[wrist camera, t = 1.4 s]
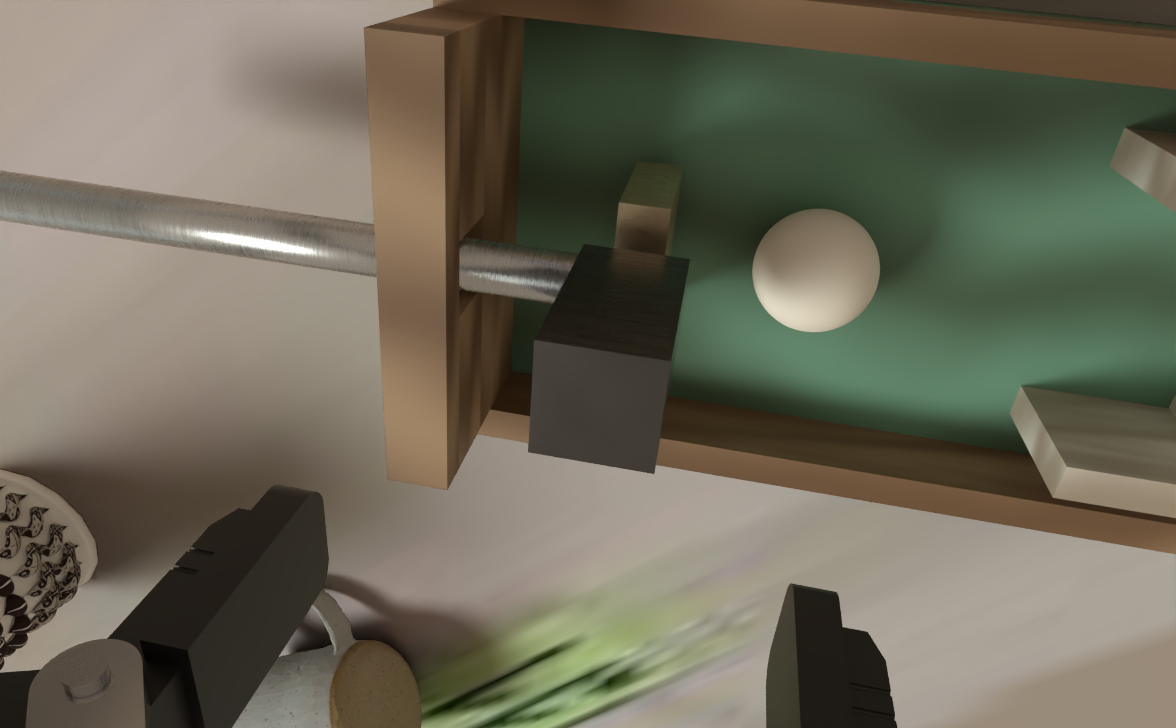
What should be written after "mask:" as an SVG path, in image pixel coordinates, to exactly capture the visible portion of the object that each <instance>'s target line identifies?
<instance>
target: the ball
mask: <svg viewBox="0 0 1176 728" xmlns="http://www.w3.org/2000/svg"><path fill="white" fill-rule="evenodd" d="M879 276H880V262H879V256H878V252H877V249H876V246H875V244H874V242H873V240H872V238H871V237H870V235H869V233H868V232H867V231H866V230H865V229H864V227H862V226H861V225H860V224H859V223H858V222H857V221H855V220H854V219H852V218H851V217H849V216H847V215H845V214H843V213H840V212H837V211H834V210H829V209H808V210H802V211H799V212H796V213H793V214H791V215H789V216H787V217H785V218H783V219H782V220H780V221H779V222H777V223H776V224H775V225H774V226H773V227H772V228H771V229H770V230H769V231H768V232H767V233H766V234H765V236H764V237H763V239H762V240H761V242H760V244H759V245H758V248H757V250H756V253H755V256H754V261H753V268H752V278H753V284H754V288H755V292H756V294H757V297H758V299H759V301H760V302H761V304H762V305H763V307H764V308H765V310H766V311H767V312H768V313H769V314H770V315H771V316H772V317H773V318H775V319H776V320H777V321H779V322H780V323H782V324H783V325H785V326H787V327H789V328H792V329H795V330H799V331H804V332H824V331H829V330H833V329H836V328H839V327H841V326H843V325H845V324H847V323H849V322H851V321H852V320H853V319H855V318H856V317H857V316H858V315H860V314H861V313H862V312H863V310H864V309H865V308H866V307H867V305H868V304H869V303H870V301H871V300H872V298H873V296H874V294H875V291H876V289H877V286H878V281H879Z"/></svg>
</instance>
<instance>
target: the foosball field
mask: <svg viewBox="0 0 1176 728" xmlns="http://www.w3.org/2000/svg"><path fill="white" fill-rule="evenodd" d="M364 38H365V57H366V76H367V95H368V114H369V134H370V153H371V172H372V191H373V210H374V229H375V249H376V268H377V287H378V306H379V325H380V344H381V364H382V383H383V402H384V421H385V440H386V459H387V479H389V480H394V481H400V482H405V483H411V484H417V485H422V486H428V487H433V488H439V489H444V490H448V488H449V486H450V484H451V482H452V480H453V478H454V476H455V475H456V473H457V471H458V469H459V467H460V465H461V463H462V461H463V460H464V458H465V456H466V454H467V452H468V450H469V448H470V446H471V445H472V443H473V441H474V439H475V437H476V435H477V434H479V435H485V436H491V437H497V438H503V439H509V440H514V441H520V442H526V443H529V427H530V408H531V390H532V371H533V353H534V339H535V337H536V335H537V334H538V332H539V330H540V328H541V326H542V324H543V322H544V320H545V318H546V316H547V314H548V312H549V310H550V308H551V307H552V305H553V304H550V303H543V302H537V301H530V300H523V299H517V298H510V297H504V296H497V295H490V294H484V293H477V292H470V291H464V290H459V242H460V240H461V239H462V238H463V237H467V238H474V239H481V240H488V241H495V242H502V243H509V244H516V245H523V246H530V247H537V248H544V249H551V250H558V251H565V252H572V253H579V252H580V250H581V249H582V247H583V245H584V244H588V245H596V246H603V247H610V248H614V245H615V235H616V225H617V215H618V206H619V201H620V199H621V197H622V195H623V192H624V190H625V188H626V186H627V184H628V182H629V180H630V178H631V175H632V173H633V171H634V169H635V167H636V165H637V163H638V161H639V160H640V161H648V162H656V163H664V164H671V165H679V166H683V173H682V180H681V187H680V194H679V201H678V208H677V215H676V223H675V230H674V237H673V244H672V251H671V256H673V257H680V258H687V259H690V264H689V270H688V277H687V283H686V290H685V296H684V303H683V309H682V316H681V322H680V329H679V336H678V342H677V349H676V355H675V360H674V366H673V372H672V377H671V383H670V388H669V394H668V400H667V405H666V411H665V416H664V422H663V428H662V433H661V439H660V444H659V450H658V456H657V461H656V465H660V466H666V467H672V468H677V469H683V470H689V471H695V472H701V473H706V474H712V475H718V476H724V477H730V478H736V479H741V480H747V481H753V482H759V483H765V484H771V485H776V486H782V487H788V488H794V489H800V490H805V491H811V492H817V493H823V494H829V495H835V496H840V497H846V498H852V499H858V500H864V501H869V502H875V503H881V504H887V505H893V506H899V507H904V508H910V509H916V510H922V511H928V512H934V513H939V514H945V515H951V516H957V517H963V518H968V519H974V520H980V521H986V522H992V523H998V524H1003V525H1009V526H1015V527H1021V528H1027V529H1033V530H1038V531H1044V532H1050V533H1056V534H1062V535H1067V536H1073V537H1079V538H1085V539H1091V540H1097V541H1102V542H1108V543H1114V544H1120V545H1126V546H1131V547H1137V548H1143V549H1149V550H1155V551H1161V552H1166V553H1172V554H1176V26H1169V25H1159V24H1149V23H1140V22H1130V21H1120V20H1110V19H1100V18H1091V17H1081V16H1071V15H1061V14H1051V13H1042V12H1032V11H1022V10H1012V9H1002V8H993V7H983V6H973V5H963V4H953V3H944V2H934V1H924V0H433V8H430V9H426V10H423V11H419V12H416V13H413V14H409V15H406V16H402V17H399V18H395V19H392V20H388V21H385V22H381V23H378V24H374V25H371V26H367V27H364ZM808 209H829V210H834V211H837V212H840V213H843V214H845V215H847V216H849V217H851V218H852V219H854V220H855V221H857V222H858V223H859V224H860V225H861V226H862V227H864V229H865V230H866V231H867V232H868V233H869V235H870V237H871V238H872V240H873V242H874V244H875V246H876V249H877V252H878V256H879V262H880V276H879V281H878V286H877V289H876V291H875V294H874V296H873V298H872V300H871V301H870V303H869V304H868V305H867V307H866V308H865V309H864V310H863V312H862V313H861V314H860V315H858V316H857V317H856V318H855V319H853V320H852V321H851V322H849V323H847V324H845V325H843V326H841V327H839V328H836V329H833V330H829V331H824V332H804V331H799V330H795V329H792V328H789V327H787V326H785V325H783V324H782V323H780V322H779V321H777V320H776V319H775V318H773V317H772V316H771V315H770V314H769V313H768V312H767V311H766V310H765V308H764V307H763V305H762V304H761V302H760V301H759V299H758V297H757V294H756V292H755V288H754V284H753V278H752V268H753V261H754V256H755V253H756V250H757V248H758V245H759V244H760V242H761V240H762V239H763V237H764V236H765V234H766V233H767V232H768V231H769V230H770V229H771V228H772V227H773V226H774V225H775V224H776V223H777V222H779V221H780V220H782V219H783V218H785V217H787V216H789V215H791V214H793V213H796V212H799V211H802V210H808Z"/></svg>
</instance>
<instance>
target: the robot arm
mask: <svg viewBox="0 0 1176 728" xmlns="http://www.w3.org/2000/svg"><path fill="white" fill-rule="evenodd" d="M328 562H329V558H328V547H327V536H326V526H325V516H324V506H323V499H322V496H321V495H320V494H319V493H318V492H313V491H308V490H303V489H298V488H292V487H287V486H282V485H275V486H273V487H271V488H270V489H269V490H268V491H267V492H266V494H265V495H264V496H263V497H262V498H261V499H260V501H259V502H258V503H257V504H256V505H255V506H254V507H253V509H252V510H245V509H240V508H239V509H237V510H235V511H234V512H232V513H230V514H229V515H227V516H225V517H224V518H222V519H220V520H219V521H217V522H215V523H214V524H212V525H210V526H209V528H208V529H207V530H206V531H205V532H204V533H203V534H202V535H201V536H200V537H199V539H198V540H197V541H196V542H195V543H194V544H193V545H192V546H191V549H190V551H189V552H186V553H185V554H184V555H183V556H182V557H181V558H180V559H179V561H178V562H177V563H176V564H175V565H174V569H173V570H169V572H168V573H167V574H166V575H165V576H164V577H163V578H162V579H161V580H160V581H159V583H158V584H157V585H156V586H155V587H154V588H153V589H152V590H151V591H150V592H149V594H148V595H147V596H146V597H145V598H144V599H143V600H142V601H141V602H140V603H139V605H138V606H137V607H136V608H135V609H134V610H133V611H132V612H131V613H130V614H129V616H128V617H127V618H126V619H125V620H124V621H123V622H122V623H121V624H120V625H119V627H118V628H117V629H116V630H115V631H114V632H113V633H112V634H111V635H110V636H109V637H108V638H107V639H99V640H93V641H88V642H85V643H82V644H79V645H76V646H74V647H72V648H69V649H67V650H66V651H64V652H62V653H60V654H59V655H57V656H56V657H54V658H53V659H51V660H50V661H49V662H48V663H47V664H46V665H45V666H44V667H43V668H42V669H41V670H32V671H18V672H4V673H0V728H232V727H233V725H234V724H235V722H236V721H237V719H238V718H239V716H240V715H241V713H242V712H243V710H244V709H245V707H246V706H247V704H248V703H249V701H250V699H251V698H252V696H253V695H254V693H255V692H256V690H257V689H258V687H259V686H260V684H261V683H262V681H263V680H264V678H265V676H266V675H267V673H268V672H269V670H270V669H271V667H272V666H273V664H274V663H275V661H276V660H277V658H278V657H279V655H280V654H281V652H282V650H283V649H284V647H285V646H286V644H287V643H288V641H289V640H290V638H291V637H292V635H293V634H294V632H295V631H296V629H297V628H298V626H299V624H300V623H301V621H302V620H303V618H304V617H305V615H306V614H307V612H308V611H309V609H310V608H311V606H312V605H313V603H314V602H315V600H316V598H317V597H318V595H319V594H320V592H321V590H322V587H323V585H324V582H325V579H326V575H327V571H328ZM890 692H891V689H890V683H889V677H888V672H887V666H886V661H885V659H884V657H883V656H882V654H881V653H880V651H879V649H878V648H877V646H876V645H875V643H874V642H873V640H872V638H871V637H870V635H869V634H868V632H865V631H860V630H854V629H849V628H844V627H842V619H841V611H840V602H839V597H838V594H837V593H836V592H833V591H828V590H823V589H817V588H812V587H807V586H802V585H796V584H790V585H789V586H788V589H787V592H786V595H785V599H784V602H783V606H782V610H781V613H780V617H779V621H778V624H777V628H776V632H775V635H774V639H773V642H772V646H771V650H770V655H769V661H768V668H767V679H766V728H897V724H896V721H895V720H894V718H895V712H894V706H893V701H892V697H891V696H890Z"/></svg>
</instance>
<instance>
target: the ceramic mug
mask: <svg viewBox="0 0 1176 728" xmlns="http://www.w3.org/2000/svg"><path fill="white" fill-rule="evenodd" d="M311 608H312V609H313V610H314V611H315V612H316V613H317V614H318V616H319V617H320V618H321V619H322V621H323V623H324V625H325V627H326V629H327V631H328V633H329V635H330V639H331V642H332V645H329V646H327V647H324V648H320V649H315V650H309V651H303V652H298V653H294V654H290V655H285V656H281V657H278V658H277V660H276V661H275V663H274V664H273V666H272V667H271V669H270V670H269V672H268V673H267V675H266V676H265V678H264V680H263V681H262V683H261V684H260V686H259V687H258V689H257V690H256V692H255V693H254V695H253V696H252V698H251V699H250V701H249V703H248V704H247V706H246V707H245V709H244V710H243V712H242V713H241V715H240V716H239V718H238V719H237V721H236V722H235V724H234V725H233V727H232V728H421V700H420V694H419V690H418V686H417V682H416V679H415V677H414V675H413V673H412V671H411V669H410V667H409V665H408V664H407V662H406V661H405V660H404V658H403V657H402V656H401V655H400V653H398V652H397V651H396V650H394V649H393V648H392V647H390V646H389V645H388V644H385V643H383V642H380V641H375V640H355V639H354V638H353V635H352V631H351V627H350V624H349V621H348V618H347V617H346V615H345V614H344V613H343V611H342V609H341V608H340V606H339V605H338V604H337V601H336V600H335V599H334V598H333V597H332V596H330V595H329V594H328V593H326V592H325V591H324V590H321V592H320V594H319V595H318V597H317V598H316V600H315V602H314V603H313V605H312V606H311Z"/></svg>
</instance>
